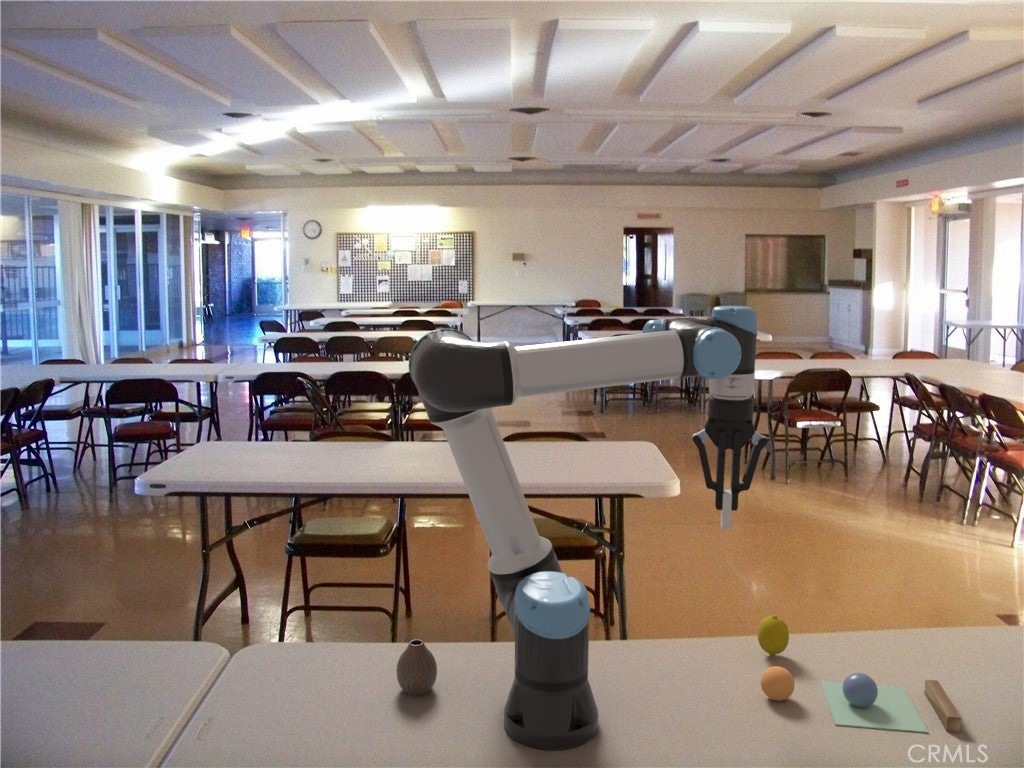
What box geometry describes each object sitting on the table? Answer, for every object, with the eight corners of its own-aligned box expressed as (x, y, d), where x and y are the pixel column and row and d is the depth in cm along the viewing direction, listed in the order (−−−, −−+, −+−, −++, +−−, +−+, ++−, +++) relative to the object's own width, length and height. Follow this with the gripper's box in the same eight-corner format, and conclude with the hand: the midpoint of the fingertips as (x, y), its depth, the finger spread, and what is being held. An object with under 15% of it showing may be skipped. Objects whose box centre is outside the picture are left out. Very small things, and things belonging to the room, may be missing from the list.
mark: (835, 725, 142) (835, 724, 142) (819, 682, 156) (819, 681, 156) (928, 732, 140) (928, 731, 140) (904, 688, 154) (904, 687, 154)
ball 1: (794, 674, 146) (799, 705, 147) (789, 659, 152) (793, 689, 152) (760, 677, 147) (765, 708, 148) (756, 662, 153) (761, 692, 153)
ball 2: (878, 680, 144) (884, 711, 145) (870, 664, 150) (876, 694, 150) (843, 685, 145) (849, 716, 146) (836, 669, 151) (842, 699, 151)
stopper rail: (946, 731, 140) (947, 716, 140) (924, 693, 152) (925, 679, 152) (959, 732, 140) (961, 717, 140) (936, 694, 152) (937, 680, 151)
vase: (411, 704, 148) (410, 655, 147) (389, 688, 154) (388, 641, 152) (445, 691, 153) (444, 643, 151) (422, 676, 158) (421, 629, 156)
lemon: (789, 664, 162) (791, 622, 161) (757, 661, 164) (759, 620, 162) (786, 650, 168) (788, 610, 166) (755, 647, 169) (757, 608, 168)
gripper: (693, 398, 151) (688, 532, 154) (772, 401, 148) (766, 536, 152) (691, 391, 158) (687, 518, 162) (767, 393, 156) (761, 522, 160)
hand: (725, 527), depth 157 cm, fingers closed
